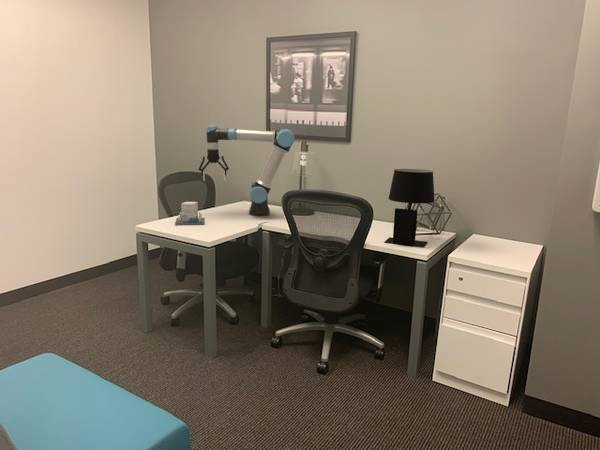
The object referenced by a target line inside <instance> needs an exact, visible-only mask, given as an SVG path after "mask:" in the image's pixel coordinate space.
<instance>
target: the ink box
mask: <svg viewBox="0 0 600 450" xmlns="http://www.w3.org/2000/svg"><path fill="white" fill-rule="evenodd" d="M180 205H181V206H180V207H181V212H182V221H187V222H195V221H196V220H198V218H199V206H198V202H197V201H184V202H182V203H181V204H180Z"/></svg>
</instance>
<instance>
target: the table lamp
mask: <svg viewBox="0 0 600 450" xmlns="http://www.w3.org/2000/svg"><path fill="white" fill-rule="evenodd" d="M434 182H435V181H434V171H433V170H430V169H428V170H427V169H418V168H417V169H415V168H414V169H413V168H395V169H394V170H393V176H392V180H391V185H390V190H389V195H388V200H390V201H393V202H397V203H402V204H404V203H405V204H407V205H408V206H407V209H406V208H398V207H397V208H394V217H393V218H394V219H393V230H392V231H393V232H392V236H391V237H390V236H389V237H388V238H387V239H386V240H385V241H384V242H383V243H384V244H393V245H399V246H400V245H401V246H406V247H407V246H409V247H416V248H425V247H426V245H427V244H428V243H429V241H425V240H416V235H417V222H418V210H417V209H412V205H413V204H417V205H418V204H432V203H433V204H434V203H435V185H434V184H435V183H434Z"/></svg>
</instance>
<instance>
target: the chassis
mask: <svg viewBox="0 0 600 450" xmlns="http://www.w3.org/2000/svg"><path fill="white" fill-rule="evenodd" d="M178 214H179V216H177V217H176V220H175V222H174V225H175V226H204V225H205V217H202V215H203V213H202V212H201V211H200V212H199V211H198V220H196V221H195V222H187V221H182V211H181V212H179V213H178Z"/></svg>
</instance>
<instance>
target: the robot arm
mask: <svg viewBox="0 0 600 450" xmlns="http://www.w3.org/2000/svg"><path fill="white" fill-rule="evenodd" d="M295 139H296V138H295V134H294V132H293V131H292V130H291V129H289V128H288V129H287V128H284V129H283V128H282V129H273V130H261V129H260V130H259V129H258V130H257V129H256V130H255V129H241V128H231V127H230V128H228V127H227V128H219V127H218V125H207V126H206V149H207V152H206V153H207V154H206V155H207V156H204V155H203V157H202V161H201V162H200V165H199V167H198V171H200V172H201V176H202V177H203V178H202V179H203V182H205V181H206V179H205V169H206V168H207V166H208V165H210V164H216V163H217V164H218V165H219V166H220V167H221V168H222V169H223V171H222V172H223V181H226V176H227V171H229V170H230V169H229V166H228V164H227V163H226V161H225V157H224V156H223V155H222V156H220V152H219V151H220V150H219V141H247V142H265V143H272V145H273V149H272V151H271V153H270V156H269V157H268V158H267V159H268V160H267V162H266V164H265V166H264V168H263V170H262V172H261V174H260V177H259V178H258V179H257V180H255V181H253V182H251V186H250V187H251V190H250V192H249V197H250V199H251V203H250V207H249V209H248V214H249V215H251V216H260V217H261V216H268V215H271V211H270V210H271V209H270V208H269V202H268V200H269V199H268V198H269V197H268V196H269V194H270V191H271V189H272V186H271V184H272V182H273V180H274V179H275V177H276V174H277V171H278V170H279V167H280V165H281V163H282V161H283V159H284V157H285V155H286V154H288V153H289V152H290V150H291V147H292V146H293V144H294V142H295ZM206 160H207V161H206ZM219 160H221V161H222V162H223V164H224V165H223V164H222V163H221V162H220V161H219ZM205 161H206V163H205ZM204 163H205V165H204ZM203 165H204V166H203Z"/></svg>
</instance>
